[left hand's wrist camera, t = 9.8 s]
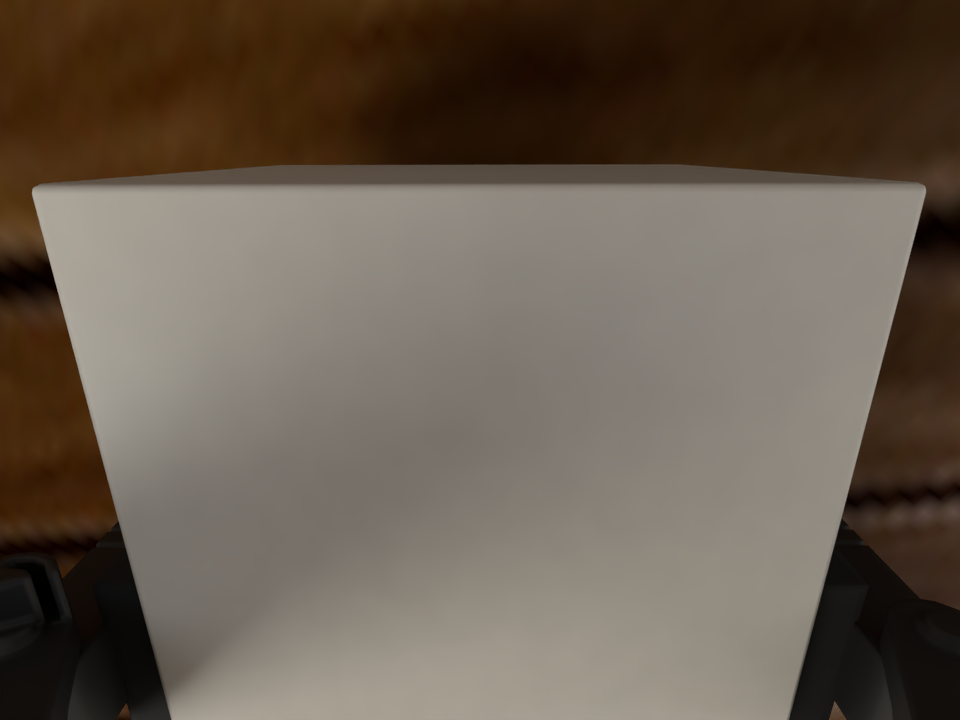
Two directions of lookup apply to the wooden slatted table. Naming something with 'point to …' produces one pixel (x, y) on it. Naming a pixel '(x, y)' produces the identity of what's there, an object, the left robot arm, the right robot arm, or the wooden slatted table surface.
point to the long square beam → (479, 427)
